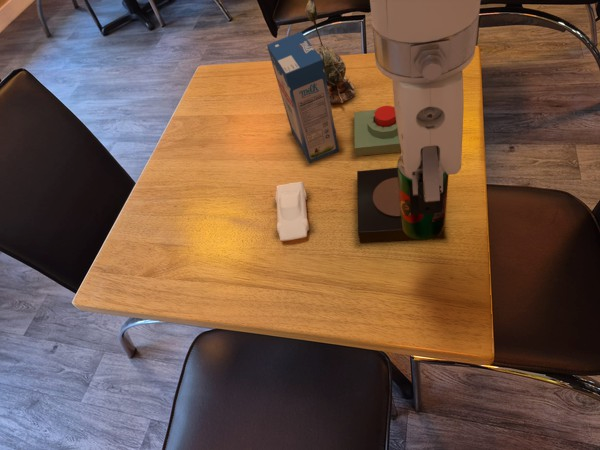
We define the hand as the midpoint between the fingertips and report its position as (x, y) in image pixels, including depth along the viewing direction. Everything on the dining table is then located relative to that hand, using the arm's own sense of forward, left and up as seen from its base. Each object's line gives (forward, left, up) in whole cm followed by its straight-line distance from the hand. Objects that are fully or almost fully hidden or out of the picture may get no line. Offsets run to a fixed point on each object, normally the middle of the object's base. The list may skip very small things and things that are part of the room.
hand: (423, 189), depth 47 cm
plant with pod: (+13, -46, -22) cm, 53 cm away
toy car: (+20, -14, -22) cm, 33 cm away
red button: (+3, -32, -18) cm, 37 cm away
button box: (+3, -32, -22) cm, 39 cm away
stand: (+2, -14, -22) cm, 26 cm away
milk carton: (+17, -32, -22) cm, 43 cm away
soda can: (0, 0, -7) cm, 7 cm away
